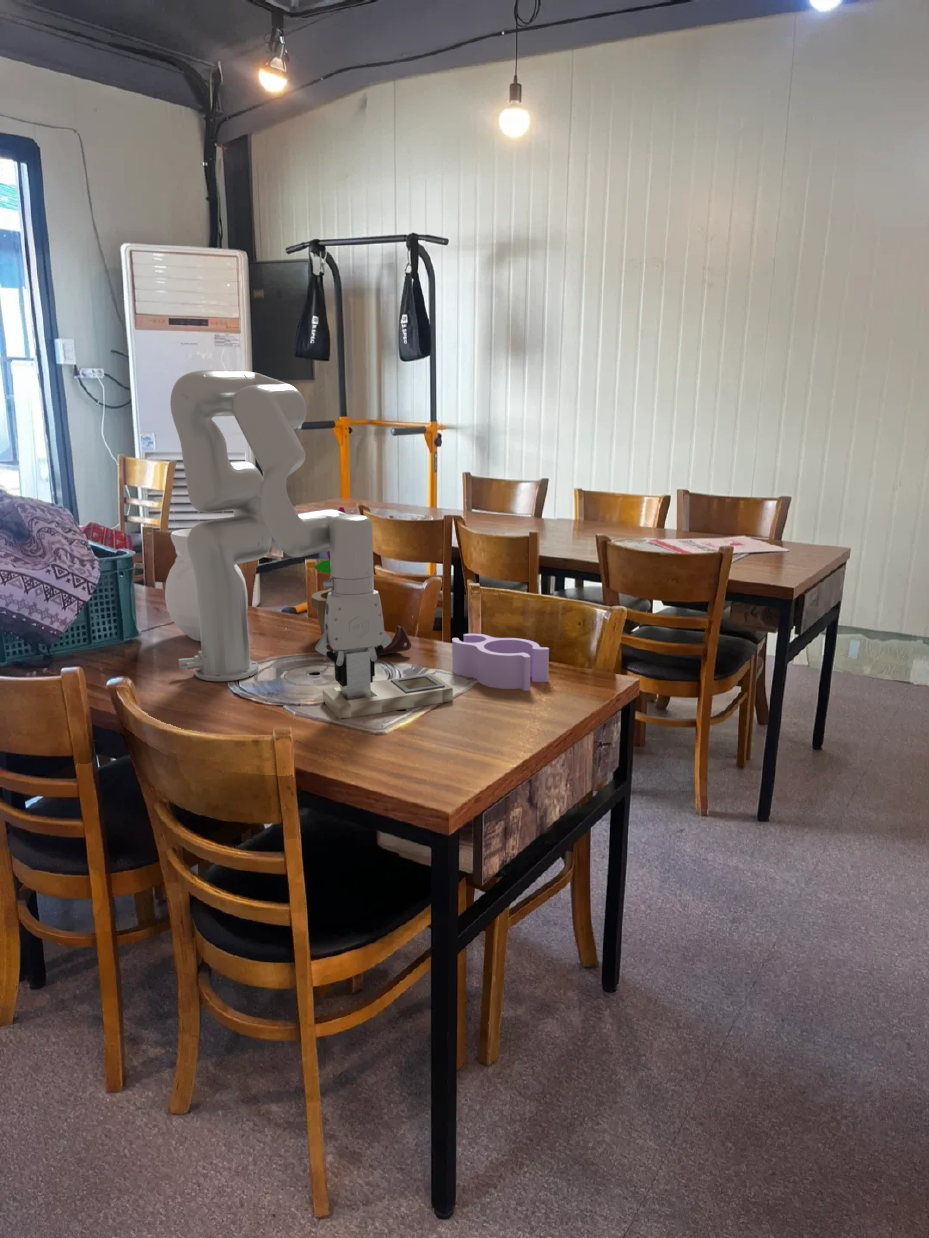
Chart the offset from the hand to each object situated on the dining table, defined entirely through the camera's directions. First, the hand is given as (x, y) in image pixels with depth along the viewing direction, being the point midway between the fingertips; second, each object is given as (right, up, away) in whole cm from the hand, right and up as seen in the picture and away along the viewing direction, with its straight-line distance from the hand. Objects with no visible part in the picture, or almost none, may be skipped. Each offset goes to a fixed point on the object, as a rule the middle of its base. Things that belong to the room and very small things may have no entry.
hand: (355, 681), depth 167 cm
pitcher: (-40, +7, +48) cm, 63 cm away
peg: (0, -4, +1) cm, 4 cm away
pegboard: (+6, -4, +4) cm, 8 cm away
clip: (+27, -1, +18) cm, 32 cm away
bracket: (0, +4, +34) cm, 34 cm away
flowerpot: (-8, +7, +47) cm, 48 cm away
